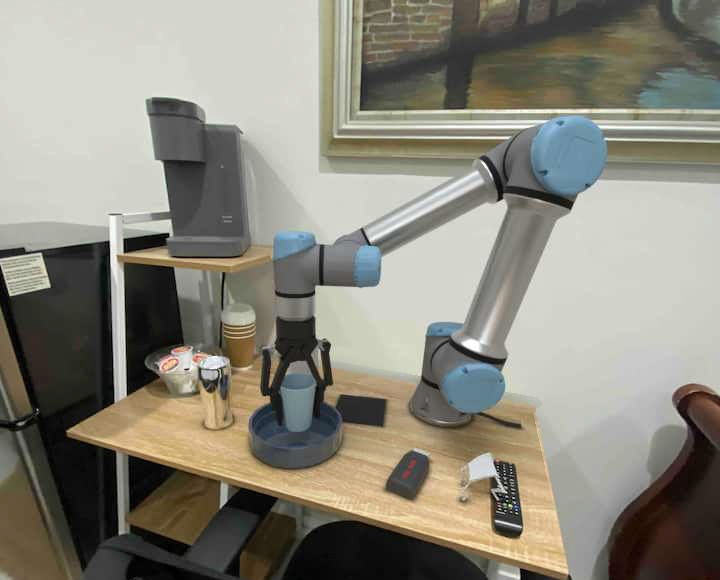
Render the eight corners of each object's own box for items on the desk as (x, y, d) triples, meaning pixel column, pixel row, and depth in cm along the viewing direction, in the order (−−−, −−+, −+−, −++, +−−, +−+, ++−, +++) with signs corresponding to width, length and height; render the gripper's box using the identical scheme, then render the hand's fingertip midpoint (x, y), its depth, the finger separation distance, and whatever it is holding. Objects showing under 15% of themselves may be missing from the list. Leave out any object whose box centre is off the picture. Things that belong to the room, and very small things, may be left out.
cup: (321, 430, 81) (321, 386, 77) (285, 438, 78) (283, 392, 74) (310, 412, 87) (309, 370, 84) (276, 419, 84) (274, 376, 81)
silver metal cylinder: (203, 433, 85) (196, 370, 79) (202, 416, 91) (195, 357, 85) (236, 427, 87) (232, 366, 82) (233, 411, 93) (229, 354, 88)
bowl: (347, 420, 92) (348, 402, 90) (331, 476, 74) (332, 454, 72) (268, 411, 94) (267, 392, 92) (234, 463, 76) (232, 441, 74)
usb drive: (385, 489, 72) (386, 477, 71) (409, 454, 82) (410, 443, 81) (412, 500, 69) (413, 488, 68) (433, 462, 79) (434, 451, 78)
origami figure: (503, 515, 67) (508, 493, 65) (454, 500, 70) (458, 478, 68) (505, 472, 78) (510, 452, 76) (463, 461, 80) (466, 441, 79)
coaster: (385, 400, 102) (385, 399, 102) (382, 426, 91) (382, 424, 90) (340, 395, 103) (340, 394, 103) (331, 420, 92) (331, 418, 92)
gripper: (338, 306, 81) (337, 402, 89) (238, 314, 74) (246, 418, 82) (352, 316, 75) (349, 419, 83) (243, 326, 67) (251, 438, 75)
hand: (298, 418), depth 82 cm, fingers closed on cup, 7 cm apart
